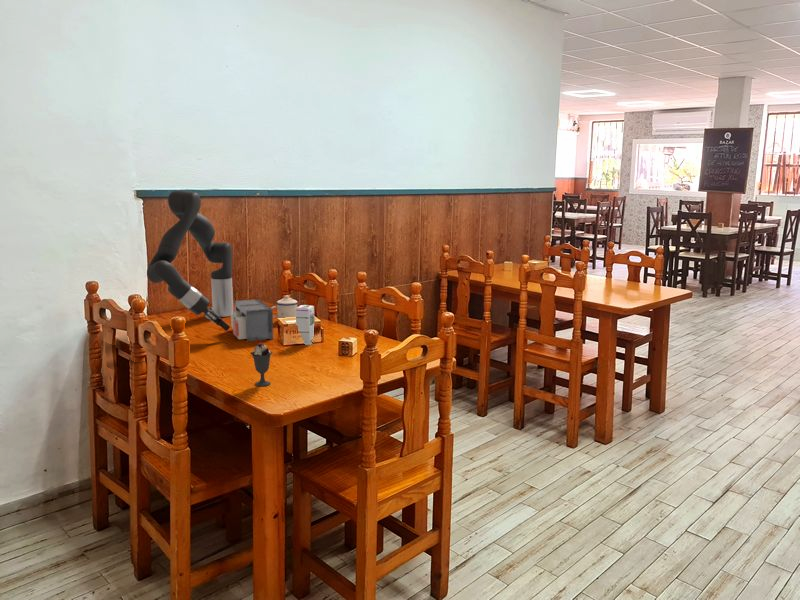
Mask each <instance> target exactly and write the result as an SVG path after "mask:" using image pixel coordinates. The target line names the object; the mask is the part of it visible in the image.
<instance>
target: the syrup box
mask: <svg viewBox="0 0 800 600" xmlns="http://www.w3.org/2000/svg"><path fill="white" fill-rule="evenodd" d="M295 314H296V322H295V326H296V325H297V326H298V331H299V332H300V334H301V336H302V339H303V341H304V344H305V345H304V346H311V345H312V344H313V343H312V340H313V336H314V326H315V325H316V324H315V305H309V304H301V305H299V306H297V308H295Z"/></svg>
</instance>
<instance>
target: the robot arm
mask: <svg viewBox="0 0 800 600" xmlns="http://www.w3.org/2000/svg"><path fill="white" fill-rule="evenodd" d="M167 199H168V200H167V203H168V207H169V209H170V211H171V213H172V214H173V215H175V217H176V218H178V221H177V222H176V223H174V225H173V226H171V227H170V228H168V230H167V231H166V232H165V233H164V234H163V235H162V237H161V240H160V243H159V245H158V247H157V251H156V252H155V254H154V256H153V258H152V259H151V261H150V262H149V264H148V267H147V270H146V276H147V279H148V280H149V282H151V283H153V284H159V283H162V282H165V284H167V291H168V292H169V294H171V295H172V296H174V298H175V299H177V300H178V301H179V302H180V303H181V304H182V305H183V306H184V307H186V308H187V309H188V310H189V311H190V312H191V313H193V314H194V315H195V316H200V315H201V314H202V313H203V314H202V315H203V316H204V318H206V319H208V320H210V321H211V322H212V323H215V324H216V325H217V326H219V327H221V328H222V329H223V330H224V331H225V332H227V331H228V330H230V328H231V327H230V324H229V325H228V324H227V323H226V322H225V321H224V320H223V318H225V317H231V315H234V296H233V295H234V294H233V293H234V292H233V291H234V290H233V288H234V287H233V247H232V245H231V244H230V243H229V242H216V241H215V242H214V241H213V239H214V238H215V236H216V230H215V228H214V226H213V224H212V223H211V221H210V220H209V219H208V218H207V217H206V216H205V215H203V214H201V213H199V212H200V209H201V205H202V200H201V196H200V194H198V193H197V192H195V191H187V190H173V191H171V192H170V193H169V195H168V197H167ZM188 232H189V233H190V235H191V236H192V237H193V239H194V240H195V241H196V242H197V244H198V245H199V247H200V248H201V250H202V252H203V254H204V256H205V257H206V259H207V260H208V262H210V263H212V264H222V266H221V267H220V268H218V269H216V270H213V271H211V273H210V281H211V282H210V283H211V284H210V285H211V301H210V299H209V298H208V297H206V296H205V295H204V294H203V293H202V292H201V291H199V290H198V289H197V288H195V287H194V286H192V285H191V284H190V283H189V282H188V281H186V280H185V279H184V278H183V277H182V275H181V274H180V272H179V271H178V270H177V269H176V267H175V266H174V265H173V264H172V263H173V261H174V260H175V259H176V257H177V256H178V253H179V249H180V247H181V245H182V242H183V240H184V238H185V236H186V234H187V233H188ZM210 302H211V303H212V307H211V306H210V307H208V306H209V305H210ZM222 317H223V318H222Z"/></svg>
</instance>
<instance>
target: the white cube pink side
mask: <svg viewBox="0 0 800 600" xmlns="http://www.w3.org/2000/svg"><path fill="white" fill-rule="evenodd" d="M232 334H233V336H235V337H236V339H238V340H247V332H246V316H242V317H236V320H234V321H233V328H232Z"/></svg>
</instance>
